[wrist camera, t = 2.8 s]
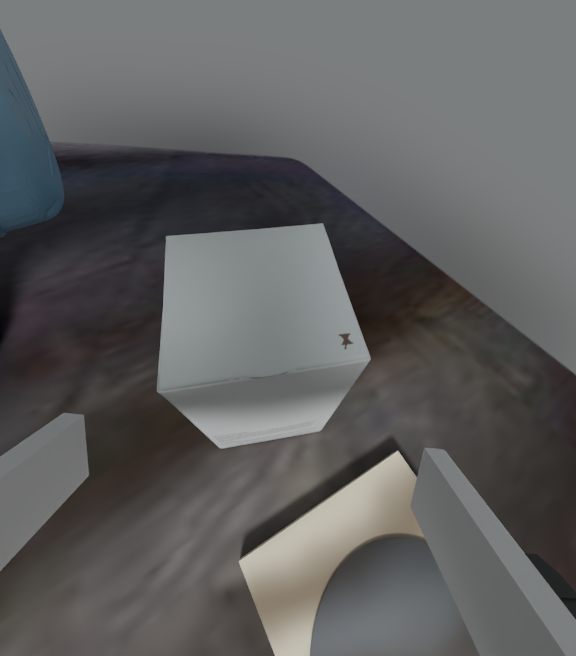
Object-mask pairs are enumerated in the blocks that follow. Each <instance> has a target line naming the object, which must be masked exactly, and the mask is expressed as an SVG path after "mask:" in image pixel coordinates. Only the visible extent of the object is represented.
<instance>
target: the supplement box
mask: <svg viewBox="0 0 576 656" xmlns="http://www.w3.org/2000/svg"><path fill="white" fill-rule="evenodd" d="M370 359H371V358H370V355H369V352H368V349H367V346H366V344H365V341H364V338H363V335H362V333H361V330H360V327H359V324H358V322H357V319H356V316H355V313H354V311H353V308H352V305H351V302H350V299H349V297H348V294H347V291H346V288H345V286H344V283H343V280H342V277H341V274H340V272H339V269H338V266H337V263H336V260H335V257H334V254H333V251H332V248H331V245H330V242H329V239H328V236H327V233H326V231H325V228H324V225H323V223H320V224H311V225H299V226H287V227H276V228H265V229H253V230H239V231H227V232H214V233H201V234H188V235H174V236H166V250H165V274H164V297H163V314H162V327H161V341H160V354H159V366H158V380H157V392H158V393H159V394H161V395H162V396H163V397H165V398H166V399H167V400H168V401H169V402H170V403H171V404H173V405H174V406H175V407H176V408H177V409H178V410H179V411H180V412H181V413H182V414H183V415H185V416H186V417H187V418H188V419H189V420H190V421H191V422H192V423H193V424H194V425H195V426H196V427H198V428H199V429H200V430H201V431H202V432H203V433H204V434H205V435H206V436H207V437H208V438H209V439H210V440H212V441H213V442H214V443H215V444H216V445H217V446H218V447H219V448H228V447H233V446H239V445H245V444H251V443H256V442H262V441H268V440H273V439H279V438H284V437H290V436H296V435H301V434H307V433H313V432H318V431H321V430H322V428H323V427H324V425H325V424H326V423H327V421H328V420H329V418H330V417H331V416H332V414H333V413H334V411H335V410H336V408H337V407H338V405H339V404H340V402H341V401H342V400H343V398H344V397H345V395H346V394H347V392H348V391H349V389H350V388H351V387H352V385H353V384H354V382H355V381H356V380H357V378H358V377H359V375H360V374H361V373H362V371H363V370H364V368H365V367H366V365H367V364H368V363H369V361H370Z"/></svg>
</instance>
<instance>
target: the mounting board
mask: <svg viewBox="0 0 576 656" xmlns="http://www.w3.org/2000/svg"><path fill="white" fill-rule="evenodd" d="M416 480H417V477H416V476H415V474H414V473H413V471H412V470H411V468H410V467H409V465H408V464H407V463H406V461H405V460H404V458H403V457H402V455H401V454H400V453H399V451H395V452H393V453H391V454H390V455H388V456H387V457H385V458H384V459H383V460H381V461H380V462H378V463H377V464H375V465H374V466H372V467H371V468H370V469H368V470H367V471H365V472H364V473H362V474H361V475H360V476H358V477H357V478H355V479H354V480H352V481H351V482H349V483H348V484H347V485H345V486H344V487H342V488H341V489H339V490H338V491H336V492H335V493H334V494H332V495H331V496H329V497H328V498H326V499H325V500H323V501H322V502H321V503H319V504H318V505H316V506H315V507H313V508H312V509H311V510H309V511H308V512H306V513H305V514H303V515H302V516H300V517H299V518H298V519H296V520H295V521H293V522H292V523H290V524H289V525H287V526H286V527H285V528H283V529H282V530H280V531H279V532H277V533H276V534H274V535H273V536H272V537H270V538H269V539H267V540H266V541H264V542H263V543H262V544H260V545H259V546H257V547H256V548H254V549H253V550H251V551H250V552H249V553H247V554H246V555H244V556H243V557H241V558H240V560H239V564H240V566H241V569H242V571H243V574H244V577H245V579H246V582H247V584H248V587H249V590H250V592H251V595H252V597H253V600H254V603H255V605H256V608H257V610H258V613H259V615H260V618H261V621H262V623H263V626H264V628H265V631H266V634H267V636H268V639H269V641H270V644H271V647H272V649H273V652H274V654H275V656H480V655H479V653H478V651H477V649H476V647H475V644H474V642H473V640H472V638H471V636H470V634H469V632H468V629H467V627H466V625H465V623H464V621H463V619H462V617H461V614H460V612H459V610H458V608H457V606H456V604H455V601H454V599H453V597H452V595H451V593H450V591H449V589H448V586H447V584H446V582H445V580H444V578H443V576H442V573H441V571H440V569H439V567H438V565H437V563H436V561H435V558H434V556H433V554H432V552H431V550H430V548H429V546H428V543H427V541H426V539H425V537H424V535H423V533H422V530H421V528H420V526H419V524H418V522H417V520H416V518H415V515H414V513H413V511H412V509H411V507H410V504H411V500H412V496H413V492H414V488H415V484H416Z"/></svg>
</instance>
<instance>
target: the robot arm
mask: <svg viewBox="0 0 576 656" xmlns="http://www.w3.org/2000/svg"><path fill="white" fill-rule="evenodd" d="M63 203H64V188H63V183H62V178H61V174H60V171H59V168H58V164H57V161H56V158H55V155H54V152H53V149H52V146H51V144H50V141H49V138H48V136H47V133H46V131H45V128H44V125H43V123H42V120H41V118H40V115H39V113H38V110H37V108H36V106H35V103H34V101H33V99H32V96H31V94H30V91H29V89H28V87H27V85H26V82H25V80H24V78H23V76H22V73H21V71H20V69H19V67H18V65H17V63H16V60H15V58H14V56H13V54H12V52H11V50H10V48H9V46H8V44H7V42H6V40H5V38H4V36H3V34H2V32H1V30H0V237H4V236H5V235H6V234H7V233H8V232H9V231H13V230H16V229H20V228H24V227H27V226H31V225H34V224H38V223H41V222H45V221H48V220H50V219H52V218H54V217H55V216H56V215H57V214H58V213H59V212H60V210H61V208H62V206H63ZM88 476H89V471H88V459H87V448H86V436H85V424H84V415H80V414H70V413H63V414H61V415H60V416H58V417H57V418H56V419H54V420H53V421H51V422H50V423H48V424H47V425H45V426H44V427H42V428H41V429H40V430H38V431H37V432H35V433H34V434H32V435H31V436H29V437H28V438H27V439H25V440H24V441H22V442H21V443H19V444H18V445H16V446H15V447H13V448H12V449H11V450H9V451H8V452H6V453H5V454H3V455H2V456H0V571H1V570H2V569H3V568H4V567H5V565H6V564H7V563H8V562H9V561H10V560H11V559H12V558H13V557H14V556H15V555H16V554H17V552H18V551H19V550H20V549H21V548H22V547H23V546H24V545H25V544H26V543H27V542H28V541H29V540H30V538H31V537H32V536H33V535H34V534H35V533H36V532H37V531H38V530H39V529H40V528H41V527H42V526H43V524H44V523H45V522H46V521H47V520H48V519H49V518H50V517H51V516H52V515H53V514H54V513H55V511H56V510H57V509H58V508H59V507H60V506H61V505H62V504H63V503H64V502H65V501H66V500H67V499H68V497H69V496H70V495H71V494H72V493H73V492H74V491H75V490H76V489H77V488H78V487H79V486H80V484H81V483H82V482H83V481H84V480H85V479H86V478H87V477H88ZM410 507H411V509H412V511H413V513H414V515H415V518H416V520H417V522H418V524H419V526H420V528H421V530H422V533H423V535H424V537H425V539H426V541H427V543H428V546H429V548H430V550H431V552H432V554H433V556H434V558H435V561H436V563H437V565H438V567H439V569H440V571H441V573H442V576H443V578H444V580H445V582H446V584H447V586H448V589H449V591H450V593H451V595H452V597H453V599H454V601H455V604H456V606H457V608H458V610H459V612H460V614H461V617H462V619H463V621H464V623H465V625H466V627H467V629H468V632H469V634H470V636H471V638H472V640H473V642H474V644H475V647H476V649H477V651H478V653H479V655H480V656H576V593H575V591H574V590H573V589H572V588H571V587H570V585H569V584H568V583H567V582H566V581H565V579H564V578H563V577H562V576H561V575H560V574H559V573H558V572H557V571H556V570H554V569H553V568H552V567H551V566H550V565H549V564H547V563H546V562H545V561H544V560H543V559H542V558H540V557H539V556H538V555H536V554H525V553H524V552H523V551H522V549H521V548H520V547H519V546H518V544H517V543H516V542H515V540H514V539H513V538H512V537H511V535H510V534H509V533H508V531H507V530H506V529H505V528H504V526H503V525H502V524H501V522H500V521H499V520H498V518H497V517H496V516H495V515H494V513H493V512H492V511H491V509H490V508H489V507H488V506H487V504H486V503H485V502H484V500H483V499H482V498H481V497H480V495H479V494H478V493H477V491H476V490H475V489H474V487H473V486H472V485H471V484H470V482H469V481H468V480H467V478H466V477H465V476H464V475H463V473H462V472H461V471H460V469H459V468H458V467H457V466H456V464H455V463H454V462H453V460H452V459H451V458H450V456H449V455H448V454H447V453H446V451H445V450H443V449H433V448H424V452H423V456H422V460H421V464H420V468H419V472H418V476H417V480H416V484H415V488H414V492H413V496H412V500H411V504H410Z"/></svg>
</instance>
